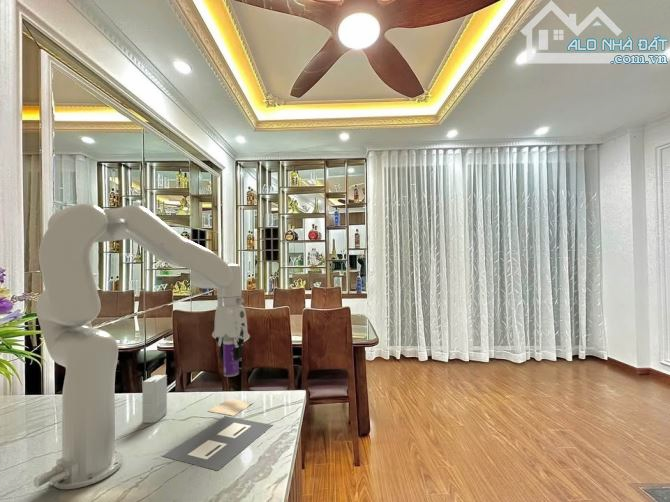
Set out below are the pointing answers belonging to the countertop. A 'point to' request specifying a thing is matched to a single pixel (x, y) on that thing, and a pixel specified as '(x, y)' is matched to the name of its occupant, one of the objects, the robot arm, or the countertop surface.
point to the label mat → (218, 442)
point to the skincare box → (154, 398)
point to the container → (229, 357)
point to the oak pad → (230, 407)
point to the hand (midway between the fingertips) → (230, 357)
